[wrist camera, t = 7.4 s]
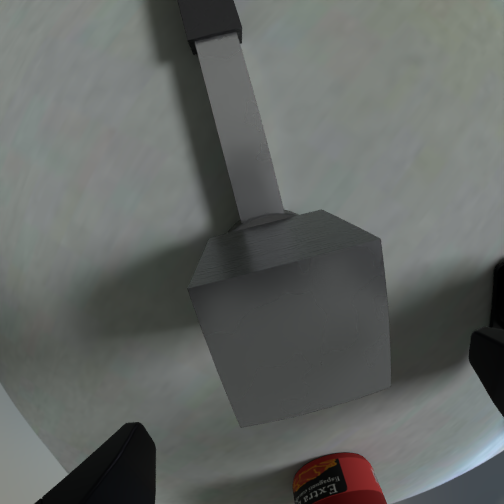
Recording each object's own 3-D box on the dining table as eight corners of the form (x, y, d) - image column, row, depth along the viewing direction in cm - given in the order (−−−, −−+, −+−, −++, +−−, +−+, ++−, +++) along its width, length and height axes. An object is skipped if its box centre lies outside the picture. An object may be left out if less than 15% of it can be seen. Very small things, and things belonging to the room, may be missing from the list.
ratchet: (334, 299, 19) (367, 346, 13) (233, 325, 19) (232, 381, 14) (240, -52, 13) (240, -105, 7) (144, -28, 13) (119, -76, 8)
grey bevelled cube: (340, 311, 16) (390, 386, 10) (239, 337, 17) (240, 427, 10) (322, 209, 15) (380, 238, 8) (209, 238, 15) (187, 288, 9)
